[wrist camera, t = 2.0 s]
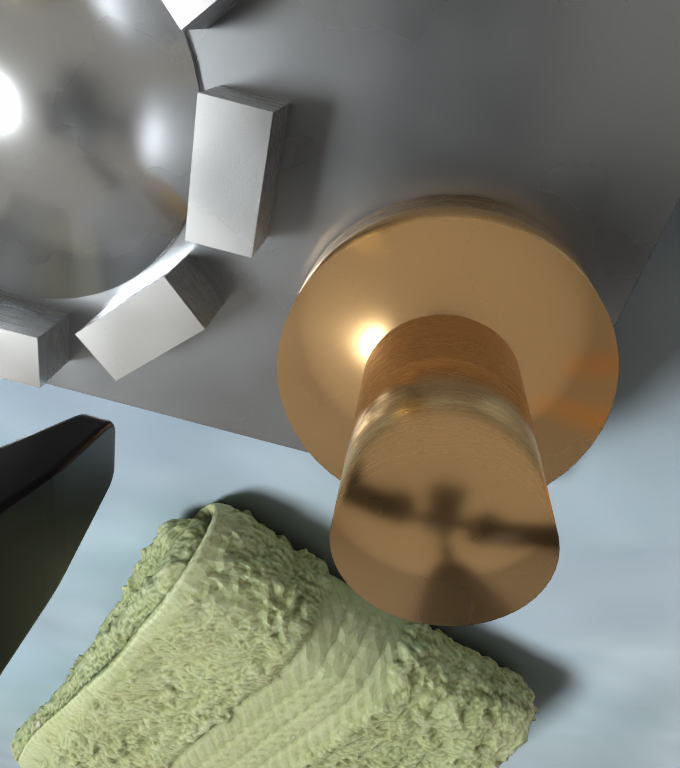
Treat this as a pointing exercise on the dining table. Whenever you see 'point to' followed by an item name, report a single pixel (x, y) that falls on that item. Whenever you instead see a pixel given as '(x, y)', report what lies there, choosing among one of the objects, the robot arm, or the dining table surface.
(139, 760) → the washcloth
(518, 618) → the dining table surface
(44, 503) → the robot arm
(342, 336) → the bronze flanged knob
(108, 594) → the dining table surface
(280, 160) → the carrier plate
